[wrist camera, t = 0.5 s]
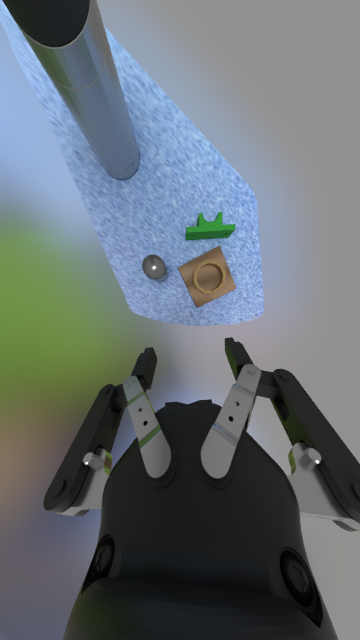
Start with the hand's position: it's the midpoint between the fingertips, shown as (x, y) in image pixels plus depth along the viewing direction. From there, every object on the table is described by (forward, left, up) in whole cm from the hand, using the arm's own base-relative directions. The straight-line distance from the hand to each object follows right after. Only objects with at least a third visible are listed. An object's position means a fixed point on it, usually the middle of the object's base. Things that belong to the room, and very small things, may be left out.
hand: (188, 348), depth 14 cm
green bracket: (-17, +15, -25) cm, 33 cm away
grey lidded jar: (-13, -1, -24) cm, 27 cm away
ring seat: (-6, +10, -24) cm, 27 cm away
